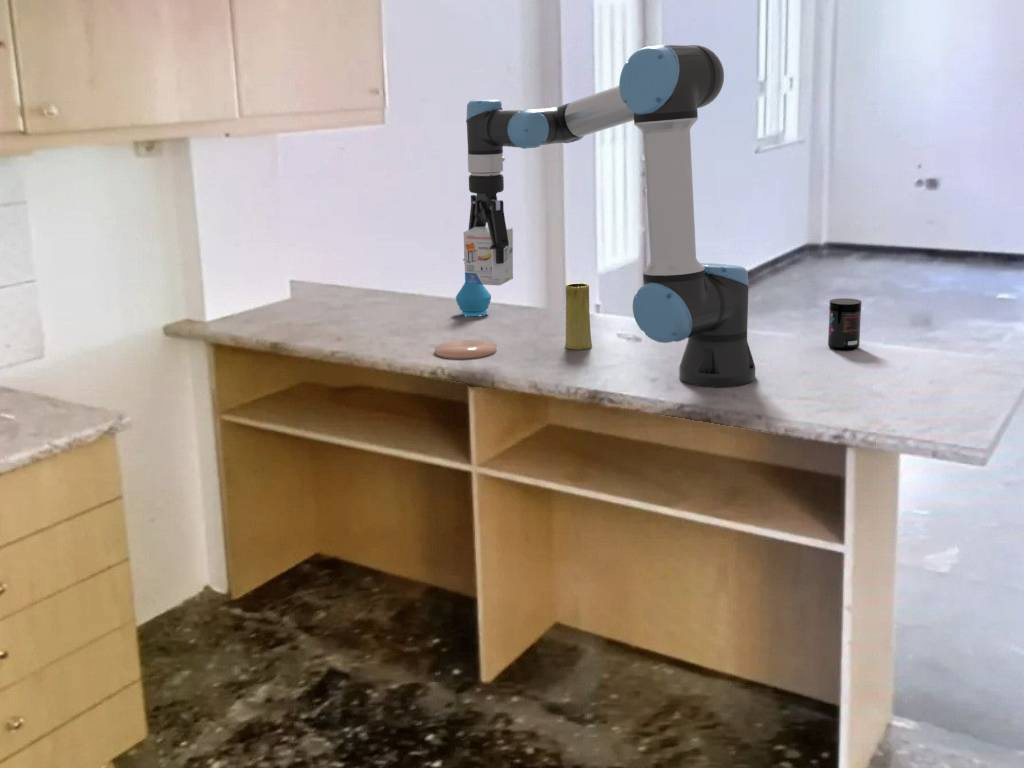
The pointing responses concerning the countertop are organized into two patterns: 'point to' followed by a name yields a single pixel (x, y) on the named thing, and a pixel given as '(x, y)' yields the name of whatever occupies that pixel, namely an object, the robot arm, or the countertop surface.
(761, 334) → the countertop surface
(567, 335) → the vase
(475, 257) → the ink box
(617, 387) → the countertop surface
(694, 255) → the robot arm
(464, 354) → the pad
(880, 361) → the countertop surface
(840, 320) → the supplement container
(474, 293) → the perfume bottle
